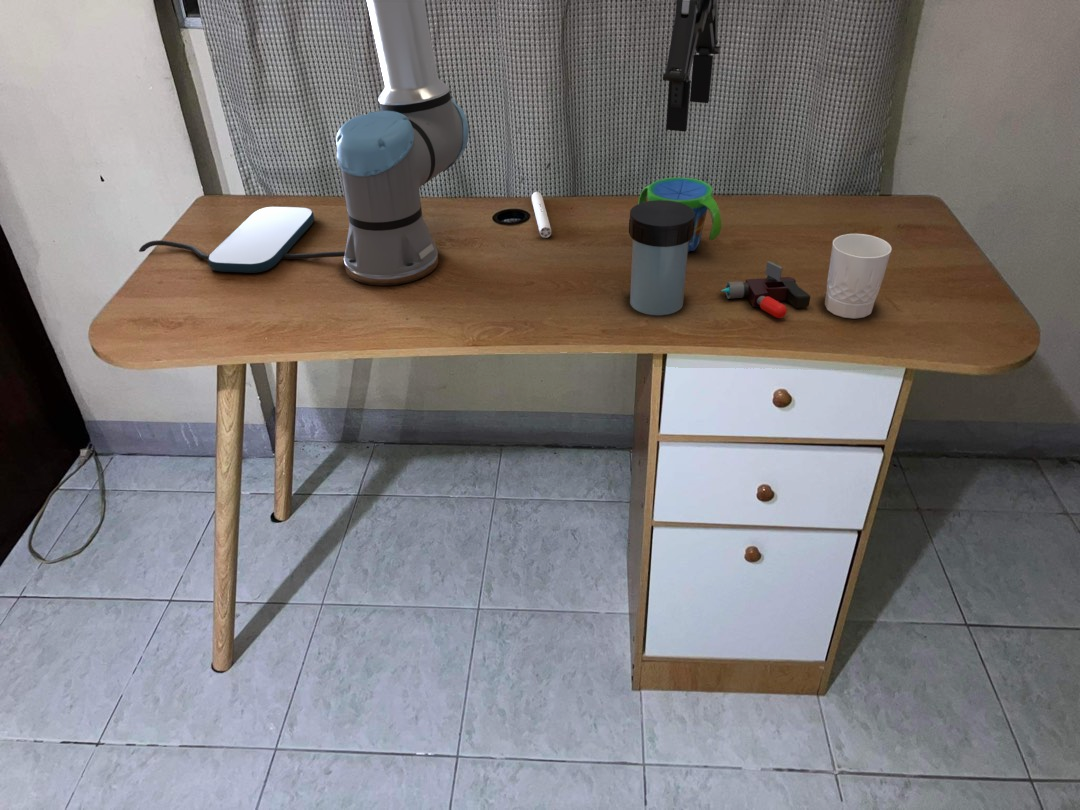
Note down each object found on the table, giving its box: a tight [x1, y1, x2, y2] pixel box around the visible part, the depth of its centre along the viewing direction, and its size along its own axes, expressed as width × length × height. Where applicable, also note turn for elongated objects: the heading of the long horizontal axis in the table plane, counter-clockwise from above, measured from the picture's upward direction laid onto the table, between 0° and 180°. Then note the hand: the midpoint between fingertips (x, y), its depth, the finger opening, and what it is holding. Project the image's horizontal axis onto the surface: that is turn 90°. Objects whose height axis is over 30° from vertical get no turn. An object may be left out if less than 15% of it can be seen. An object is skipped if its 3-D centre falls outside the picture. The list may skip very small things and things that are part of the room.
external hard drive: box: [207, 206, 315, 274], centre depth 145 cm, size 24×12×2 cm, turn 172°
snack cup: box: [637, 176, 722, 253], centre depth 138 cm, size 16×10×10 cm
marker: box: [530, 191, 552, 239], centre depth 151 cm, size 18×2×2 cm, turn 6°
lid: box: [628, 200, 695, 247], centre depth 118 cm, size 9×9×3 cm
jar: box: [629, 239, 689, 316], centre depth 121 cm, size 8×8×14 cm
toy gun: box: [720, 260, 811, 319], centre depth 122 cm, size 10×12×5 cm
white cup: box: [824, 233, 893, 320], centre depth 119 cm, size 8×8×10 cm
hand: (688, 115), depth 118 cm, fingers open, 13 cm apart
